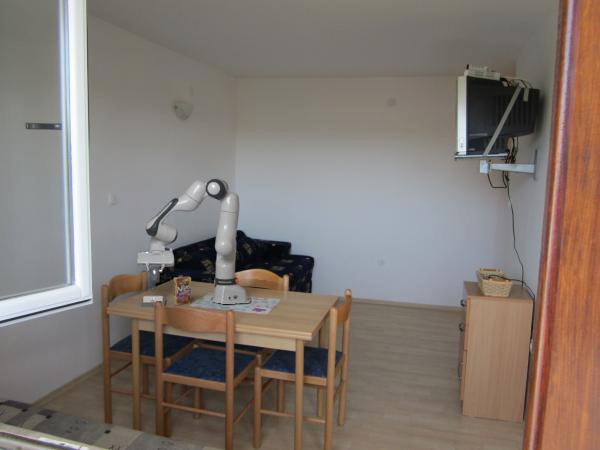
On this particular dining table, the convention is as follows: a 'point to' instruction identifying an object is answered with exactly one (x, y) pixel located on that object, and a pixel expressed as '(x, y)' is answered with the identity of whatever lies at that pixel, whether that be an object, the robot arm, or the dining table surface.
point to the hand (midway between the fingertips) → (154, 271)
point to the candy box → (181, 290)
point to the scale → (152, 300)
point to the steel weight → (154, 275)
